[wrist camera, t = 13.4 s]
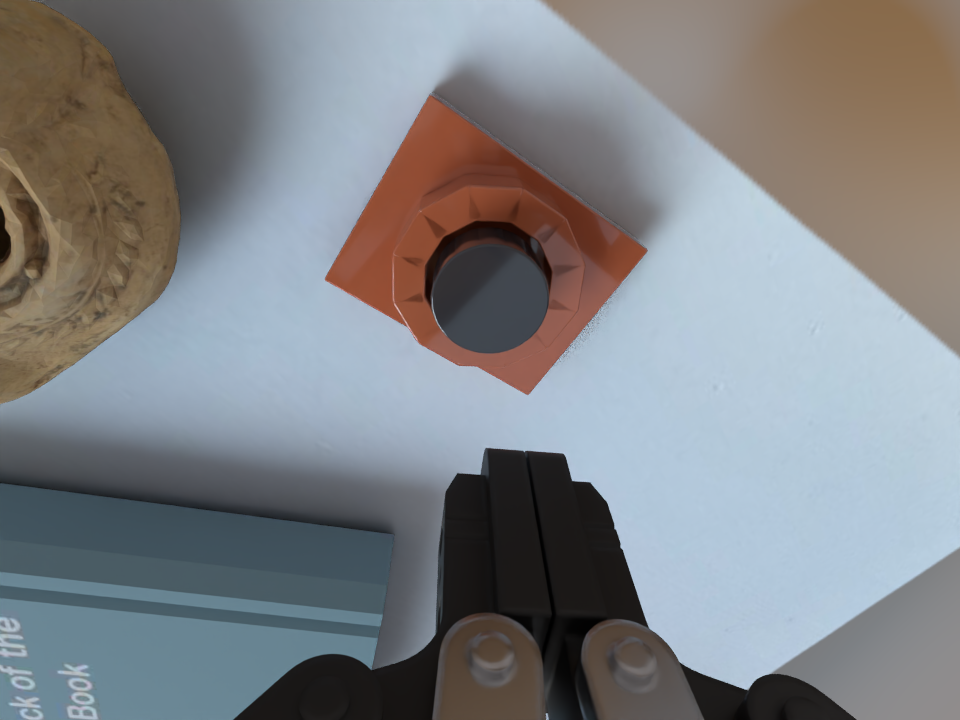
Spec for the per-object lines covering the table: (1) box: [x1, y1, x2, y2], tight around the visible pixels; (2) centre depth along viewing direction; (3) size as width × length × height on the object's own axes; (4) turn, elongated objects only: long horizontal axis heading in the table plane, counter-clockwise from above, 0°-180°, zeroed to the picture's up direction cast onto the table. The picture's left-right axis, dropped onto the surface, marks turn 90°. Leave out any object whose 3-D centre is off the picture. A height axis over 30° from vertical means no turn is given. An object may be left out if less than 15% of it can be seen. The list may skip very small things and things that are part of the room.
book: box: [0, 483, 394, 720], centre depth 31 cm, size 23×16×5 cm
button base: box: [325, 92, 648, 395], centre depth 22 cm, size 10×8×4 cm
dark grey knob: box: [431, 227, 549, 354], centre depth 20 cm, size 4×4×2 cm
